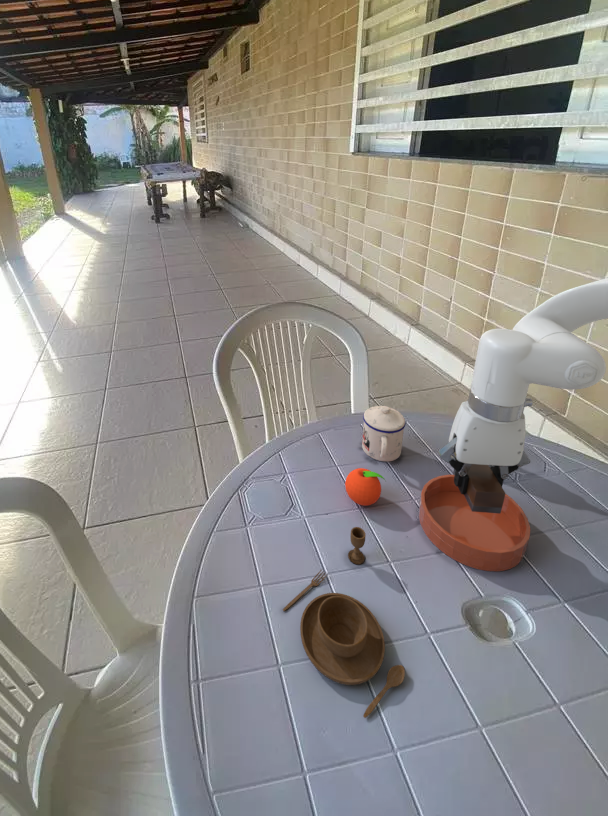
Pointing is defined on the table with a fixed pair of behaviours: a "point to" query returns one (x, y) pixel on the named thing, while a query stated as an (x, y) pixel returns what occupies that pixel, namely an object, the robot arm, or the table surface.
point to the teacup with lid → (383, 433)
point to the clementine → (363, 486)
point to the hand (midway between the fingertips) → (476, 488)
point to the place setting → (345, 634)
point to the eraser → (483, 490)
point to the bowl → (472, 527)
